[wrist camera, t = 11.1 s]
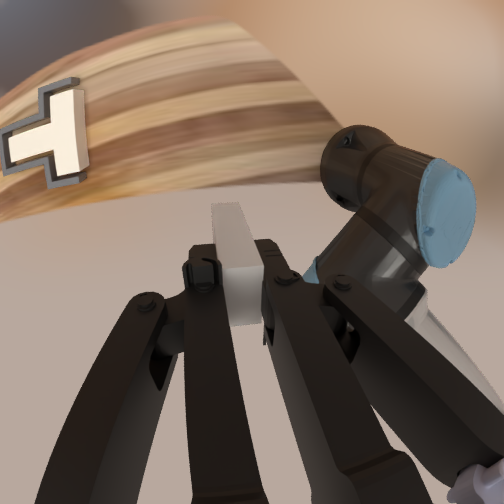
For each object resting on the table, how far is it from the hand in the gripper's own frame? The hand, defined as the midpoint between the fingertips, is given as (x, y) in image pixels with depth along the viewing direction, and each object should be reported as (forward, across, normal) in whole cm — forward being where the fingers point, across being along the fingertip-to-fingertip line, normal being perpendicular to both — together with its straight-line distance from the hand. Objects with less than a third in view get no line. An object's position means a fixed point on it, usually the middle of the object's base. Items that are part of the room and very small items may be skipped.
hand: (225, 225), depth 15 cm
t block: (+26, +25, -7) cm, 37 cm away
